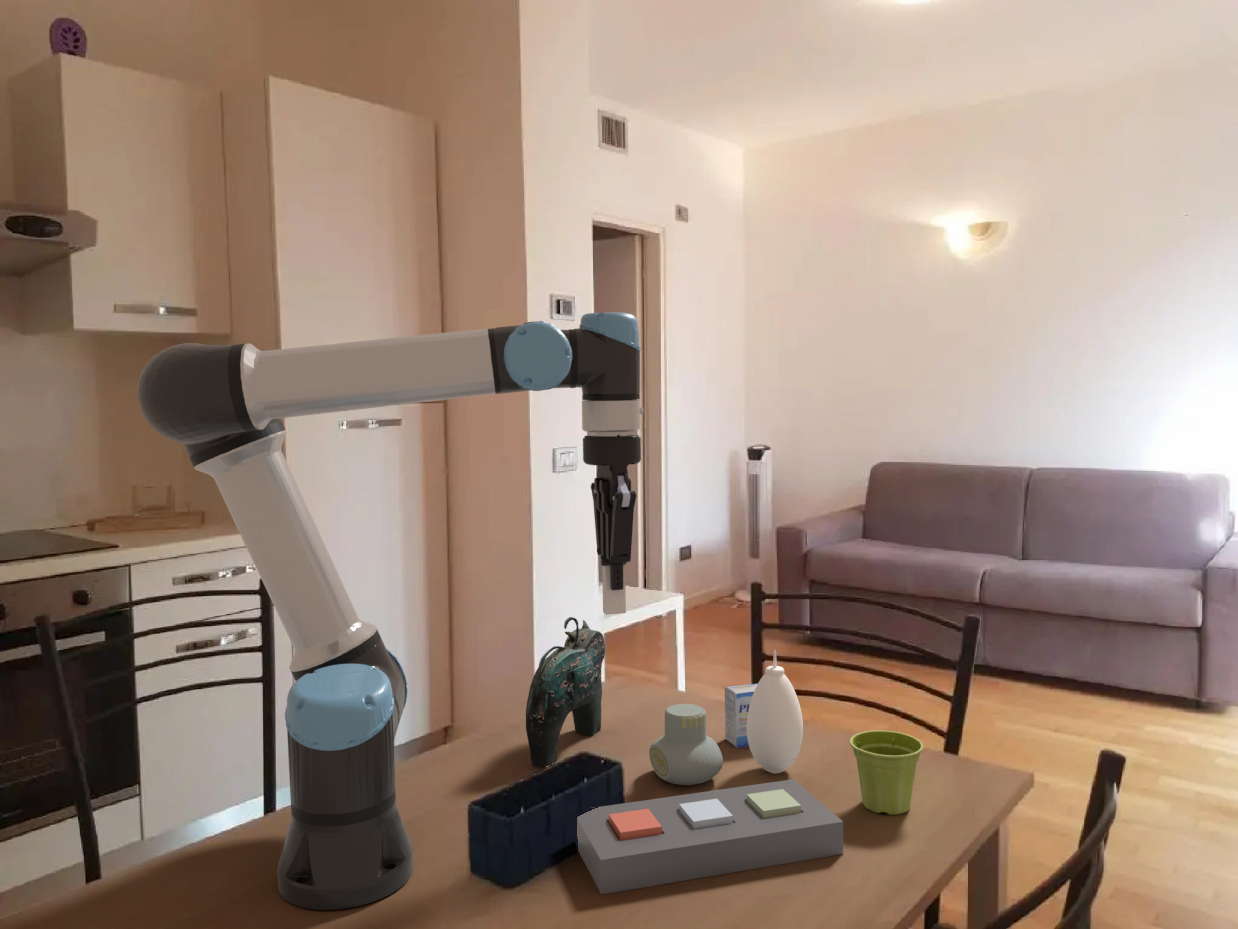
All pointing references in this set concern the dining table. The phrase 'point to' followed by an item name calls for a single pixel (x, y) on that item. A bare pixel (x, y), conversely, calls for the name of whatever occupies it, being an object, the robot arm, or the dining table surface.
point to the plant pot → (886, 769)
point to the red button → (634, 824)
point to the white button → (705, 814)
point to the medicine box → (737, 713)
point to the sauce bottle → (774, 721)
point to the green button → (773, 803)
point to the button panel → (705, 839)
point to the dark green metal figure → (565, 692)
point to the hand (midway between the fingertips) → (614, 612)
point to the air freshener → (685, 748)
